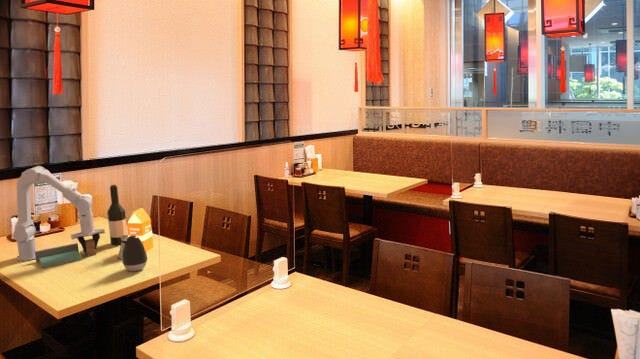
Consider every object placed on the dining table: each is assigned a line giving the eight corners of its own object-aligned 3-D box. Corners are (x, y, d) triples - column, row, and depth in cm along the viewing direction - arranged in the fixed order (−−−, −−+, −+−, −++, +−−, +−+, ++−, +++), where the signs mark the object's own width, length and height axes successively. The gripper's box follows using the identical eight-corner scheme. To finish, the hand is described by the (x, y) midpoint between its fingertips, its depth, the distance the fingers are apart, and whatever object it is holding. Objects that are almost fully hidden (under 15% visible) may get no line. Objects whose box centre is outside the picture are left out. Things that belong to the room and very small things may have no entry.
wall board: (36, 261, 235) (34, 251, 234) (78, 253, 246) (77, 243, 245) (40, 268, 226) (39, 257, 225) (84, 259, 237) (82, 248, 236)
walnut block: (85, 254, 243) (83, 240, 242) (94, 252, 246) (92, 238, 244) (87, 256, 240) (85, 242, 239) (96, 254, 242) (94, 240, 241)
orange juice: (129, 252, 244) (125, 212, 240) (139, 246, 252) (134, 207, 248) (145, 253, 242) (140, 212, 239) (153, 247, 251) (149, 207, 247)
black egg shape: (118, 270, 221) (114, 236, 218) (141, 263, 228) (137, 230, 225) (129, 275, 214) (126, 240, 211) (152, 268, 221) (149, 234, 219)
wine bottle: (131, 242, 261) (125, 184, 255) (117, 246, 254) (111, 187, 248) (121, 239, 265) (115, 182, 259) (107, 244, 258) (100, 186, 252)
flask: (128, 259, 234) (126, 238, 232) (114, 259, 235) (112, 238, 233) (137, 254, 241) (135, 234, 239) (123, 253, 242) (121, 233, 240)
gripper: (71, 227, 232) (75, 256, 235) (105, 221, 241) (108, 249, 244) (68, 224, 238) (72, 252, 241) (101, 218, 247) (104, 245, 249)
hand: (90, 250), depth 242 cm, fingers closed on walnut block, 4 cm apart
